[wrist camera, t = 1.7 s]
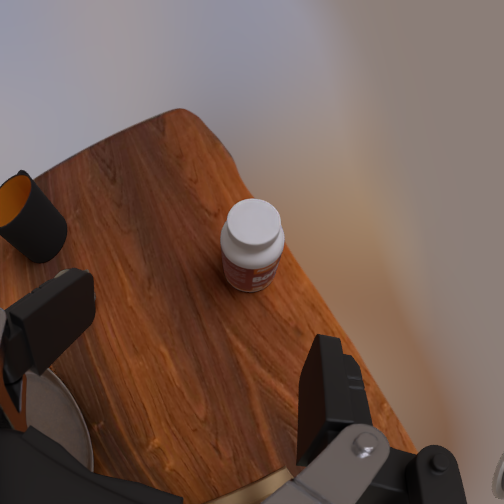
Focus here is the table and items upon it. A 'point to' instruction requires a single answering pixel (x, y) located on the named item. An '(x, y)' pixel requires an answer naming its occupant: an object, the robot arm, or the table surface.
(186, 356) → the table surface
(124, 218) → the table surface
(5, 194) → the mug
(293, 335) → the table surface
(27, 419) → the plant saucer
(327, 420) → the robot arm
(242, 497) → the tray
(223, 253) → the pill bottle
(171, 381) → the table surface
